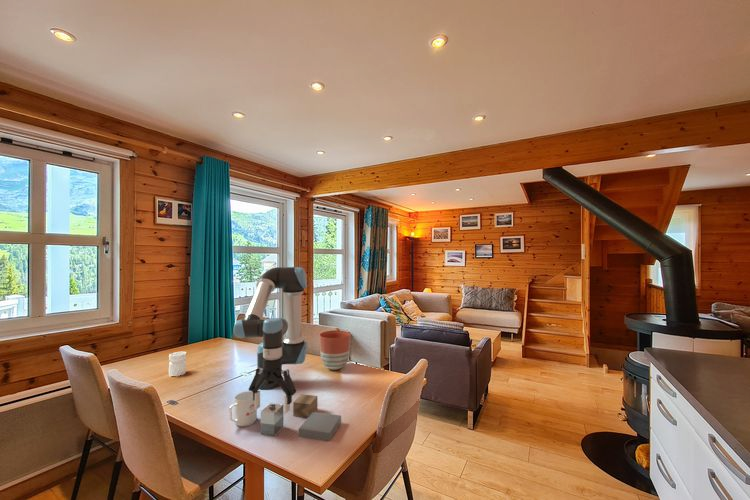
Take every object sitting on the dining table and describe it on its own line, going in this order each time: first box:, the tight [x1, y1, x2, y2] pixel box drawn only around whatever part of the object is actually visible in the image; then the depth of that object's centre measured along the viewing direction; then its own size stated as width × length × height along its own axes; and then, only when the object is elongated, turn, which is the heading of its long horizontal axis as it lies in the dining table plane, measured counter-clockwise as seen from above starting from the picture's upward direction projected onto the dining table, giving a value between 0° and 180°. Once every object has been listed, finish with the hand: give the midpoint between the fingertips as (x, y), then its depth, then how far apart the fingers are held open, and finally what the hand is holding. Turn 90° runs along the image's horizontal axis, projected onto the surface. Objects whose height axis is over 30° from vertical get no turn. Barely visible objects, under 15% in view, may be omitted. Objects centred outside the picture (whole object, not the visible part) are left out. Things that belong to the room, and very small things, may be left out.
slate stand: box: [298, 411, 342, 441], centre depth 125 cm, size 13×13×3 cm
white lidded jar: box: [168, 351, 187, 377], centre depth 183 cm, size 9×9×12 cm
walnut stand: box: [292, 393, 318, 419], centre depth 138 cm, size 8×8×6 cm
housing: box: [260, 402, 284, 437], centre depth 124 cm, size 6×7×10 cm
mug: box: [228, 390, 258, 428], centre depth 129 cm, size 12×9×11 cm
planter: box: [319, 329, 351, 371], centre depth 192 cm, size 20×20×21 cm
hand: (272, 410), depth 124 cm, fingers open, 13 cm apart
